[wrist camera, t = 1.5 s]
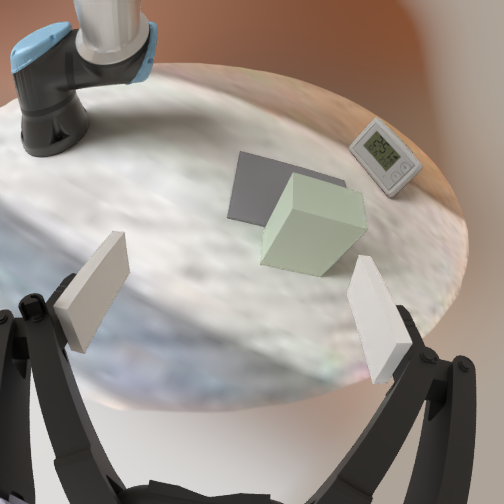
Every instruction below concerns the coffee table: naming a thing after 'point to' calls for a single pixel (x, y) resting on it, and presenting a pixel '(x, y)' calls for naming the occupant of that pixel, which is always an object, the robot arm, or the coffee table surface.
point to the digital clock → (385, 157)
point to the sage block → (312, 226)
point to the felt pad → (263, 187)
